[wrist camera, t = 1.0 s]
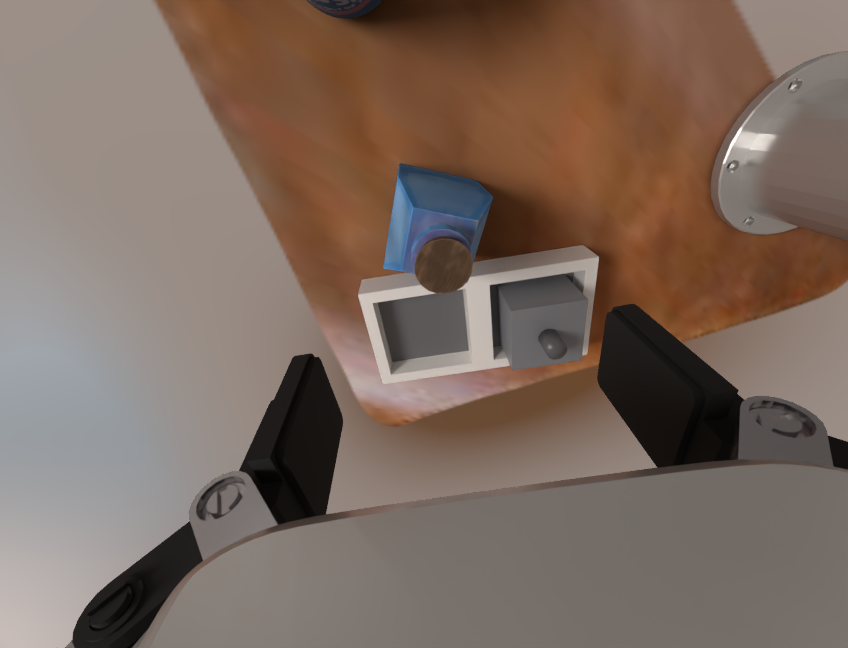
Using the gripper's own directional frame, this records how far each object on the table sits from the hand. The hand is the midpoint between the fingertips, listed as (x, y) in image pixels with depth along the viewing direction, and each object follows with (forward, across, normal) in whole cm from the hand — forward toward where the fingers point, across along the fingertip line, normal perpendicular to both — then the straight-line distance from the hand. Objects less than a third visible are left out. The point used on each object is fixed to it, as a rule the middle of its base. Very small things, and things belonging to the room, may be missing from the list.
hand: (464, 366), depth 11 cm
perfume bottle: (+21, 0, 0) cm, 21 cm away
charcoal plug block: (+19, -8, +10) cm, 23 cm away
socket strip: (+20, -3, +10) cm, 23 cm away
